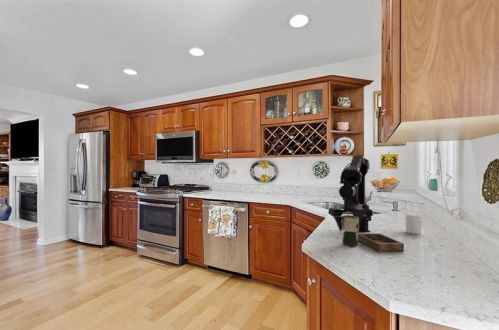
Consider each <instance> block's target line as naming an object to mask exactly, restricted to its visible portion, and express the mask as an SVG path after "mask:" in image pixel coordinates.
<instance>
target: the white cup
mask: <svg viewBox="0 0 499 330" xmlns="http://www.w3.org/2000/svg"><path fill="white" fill-rule="evenodd" d="M404 215H405V232H406V233H408V234H411V235H420V234H421V232H422V227H423V226H422V225H423V223H422V222H423V214H419V213H412V212H406V213H405V214H404Z"/></svg>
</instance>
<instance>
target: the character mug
mask: <svg viewBox="0 0 499 330" xmlns="http://www.w3.org/2000/svg"><path fill="white" fill-rule="evenodd" d="M342 217H343V219H342V231H344V232H343V237H342V244H343V245H347V246H348V247H357V246H358V241H357V232H358V231H359V217H357V216H353V214H343V215H342Z"/></svg>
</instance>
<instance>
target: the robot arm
mask: <svg viewBox="0 0 499 330" xmlns="http://www.w3.org/2000/svg"><path fill="white" fill-rule="evenodd" d="M369 170H370V161H369V159H368V158H365V157H364V156H363V155H354V156H352V158H351V162H350V164H349V166H346V167H345V168H344V169H343V171H341V175H340V181H339V184H340V185H341V184H342V185H341V186H340V188H339V189H338V194H339V196H340V197H341V198H342V201H343V206H342V207H341V208H342V209H341V208H339V207H330V208H329V209H328V211H327V212H328V215H330V216H331V217H332V218H333V219H334V221H335V223H336V225H337V227H338V230H339V231H340V232H343V230H342V219H343V217H342V216H343V215H352V216H357V217H359V231H357V232H358V233H370V232H371V230H369V222H371V221H372V217H373V216H374V212H373V210H372V209H370V205H369V204H368V202H367V201H366V175H367V174H368V172H369Z"/></svg>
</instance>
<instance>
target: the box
mask: <svg viewBox="0 0 499 330" xmlns="http://www.w3.org/2000/svg"><path fill="white" fill-rule="evenodd" d="M356 237H357V243H361V244H362V245H364V246H366V247H368V248H370V249H372V250H373V251H376V252H378V253H397V252H398V253H400V252H401V253H402V252H404V251H405V247H404V246H405V244H404V242H402V241H399V240H397V239H395V238H393V237H389V236H387V235H384V234H383V233H375V232H373V233H370V232H369V233H356Z"/></svg>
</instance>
